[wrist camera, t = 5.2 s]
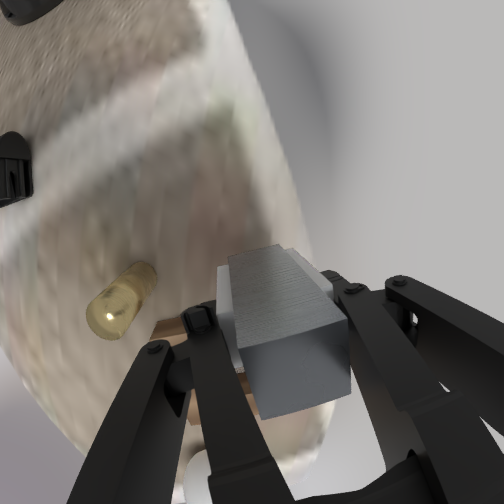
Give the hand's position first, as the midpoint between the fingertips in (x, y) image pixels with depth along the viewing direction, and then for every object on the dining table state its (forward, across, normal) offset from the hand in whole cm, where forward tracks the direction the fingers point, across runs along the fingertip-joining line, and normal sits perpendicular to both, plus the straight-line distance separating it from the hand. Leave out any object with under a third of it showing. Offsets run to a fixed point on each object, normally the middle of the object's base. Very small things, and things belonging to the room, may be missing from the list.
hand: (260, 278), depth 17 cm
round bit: (+10, -11, -1) cm, 15 cm away
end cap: (+11, -26, +15) cm, 32 cm away
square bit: (0, 0, 0) cm, 0 cm away
